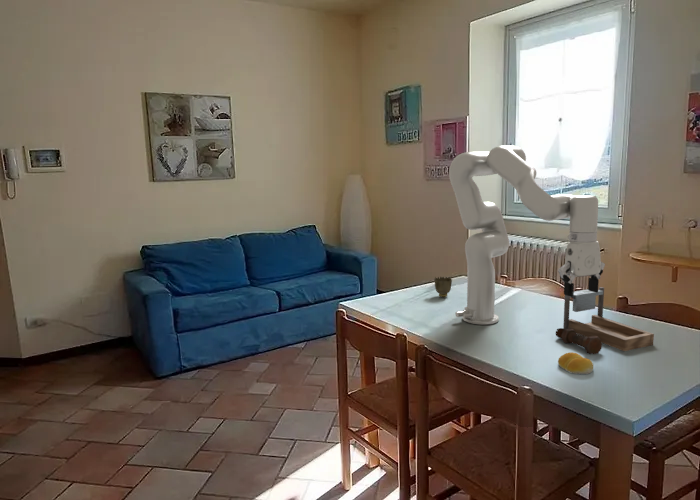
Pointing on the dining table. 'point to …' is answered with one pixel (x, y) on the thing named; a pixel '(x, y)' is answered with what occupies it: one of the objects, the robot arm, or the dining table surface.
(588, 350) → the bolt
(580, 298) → the gate
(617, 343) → the cradle
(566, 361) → the bread roll
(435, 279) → the cup
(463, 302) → the dining table surface
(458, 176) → the robot arm
